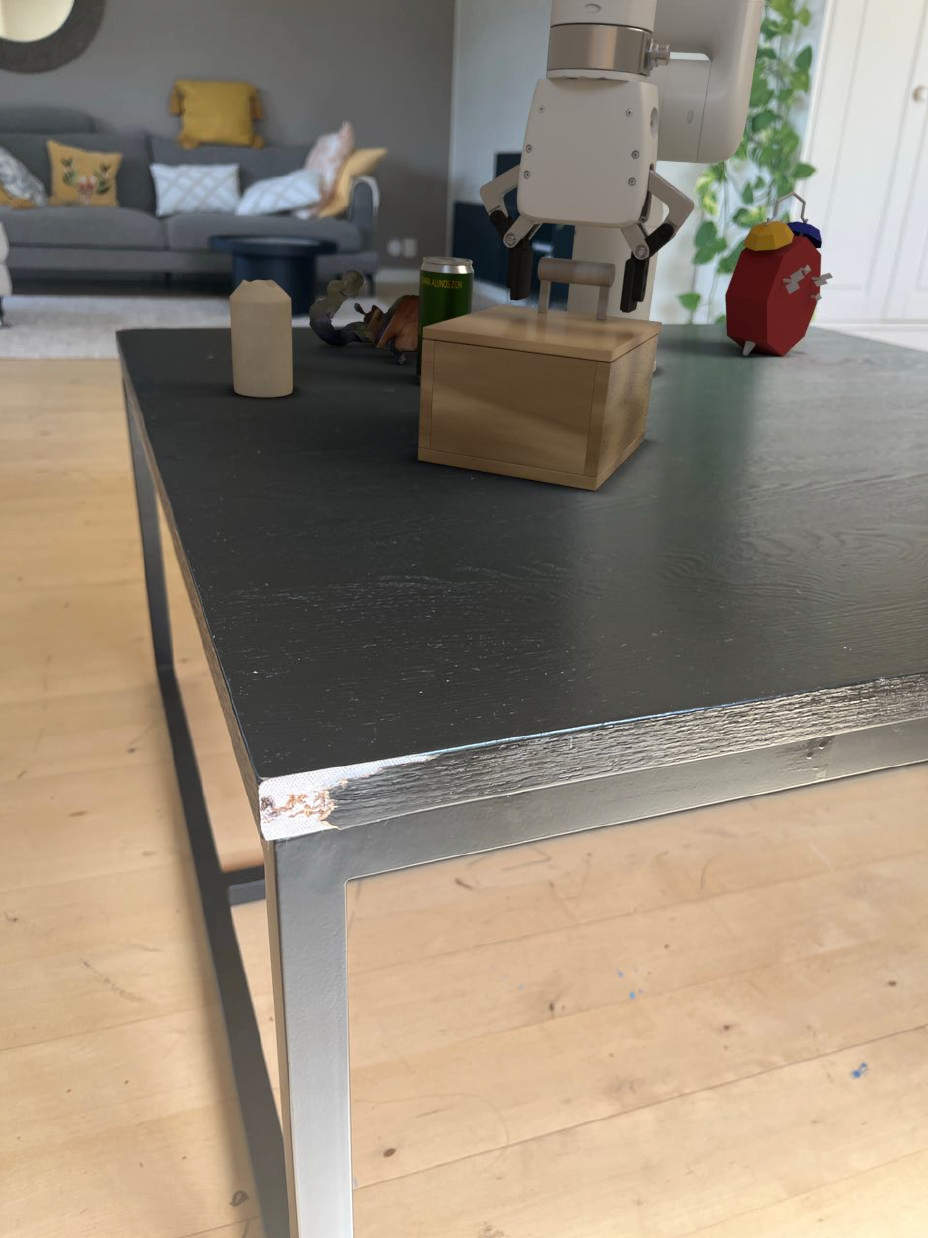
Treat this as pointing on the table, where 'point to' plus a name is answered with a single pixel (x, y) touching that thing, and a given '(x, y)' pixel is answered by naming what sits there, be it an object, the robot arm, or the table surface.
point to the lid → (553, 320)
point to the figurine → (367, 319)
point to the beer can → (442, 294)
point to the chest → (533, 411)
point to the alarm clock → (775, 285)
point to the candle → (261, 339)
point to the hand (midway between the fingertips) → (572, 304)
